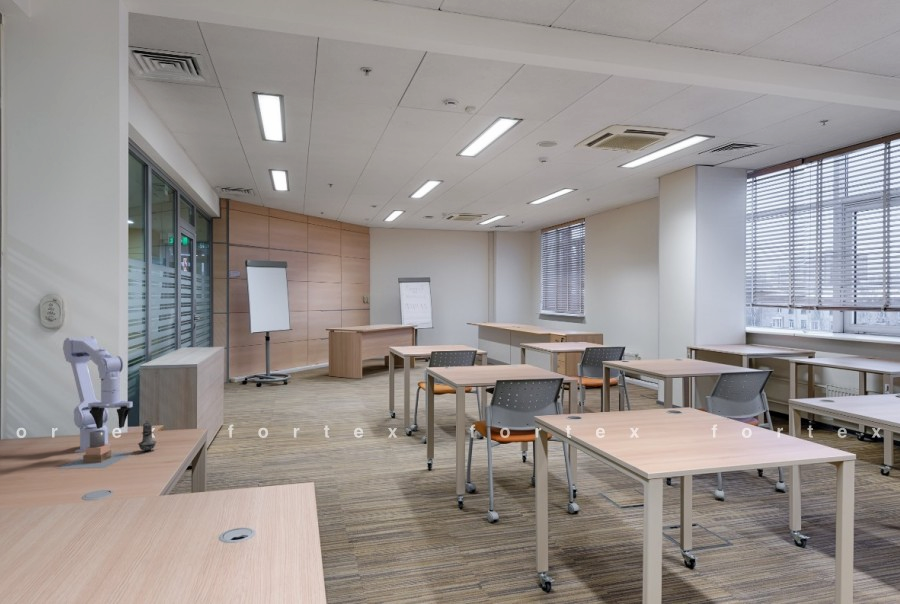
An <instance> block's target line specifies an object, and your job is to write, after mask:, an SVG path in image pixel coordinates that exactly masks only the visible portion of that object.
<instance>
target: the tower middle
mask: <svg viewBox="0 0 900 604" xmlns="http://www.w3.org/2000/svg"><path fill="white" fill-rule="evenodd" d="M109 444H110V443H108V444H105V445H104V446H102V447H96V448H90V446H89V447H87V448H86V452H85V455H101V454H103V453H106V452H108V451H109V450H110V445H109Z"/></svg>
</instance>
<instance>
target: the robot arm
mask: <svg viewBox="0 0 900 604" xmlns="http://www.w3.org/2000/svg"><path fill="white" fill-rule="evenodd" d="M62 350H63V355H64V358H65V361H66V362H68V363H70V364H71V365H70V366H71V369H72V373H73V377H74V381H75V385H76V389H77V392H78V393H77V394H78V398H79V400H80V401H79V404H77V406H75V408H74V409H73V422H74V425H75V426H76V427H77V428H79V449H76V450H75V451H74V453H86V448H87V447H89V446H90V432H92V431H98V430H104V431H105V444H109V446H111V443H109V428H108V426H107V425H106V423H107V422H108V420H109V417H110V416H109V415H110V414H109V413H110V412H109V409H111V408H112V409H113V408H116V413H117V416H118V428H119V429H122V428H124V427H125V424H126V420H127V418H128V415H129V413H130V411H131V410H132V408H133V407H134V406H133V405H134V404H133V401H128V400H127V401H125V400H124V401H123V400H121V398H120V397H121V393H120V392H121V391H120V390H121V389H120V388H121V385H120V383H121V382H120V379H121V377H120V376H121V374H120V373H121V372H122V371H123V368H124V362H123V358H122V357H120V356H119V355H118V356H114V355H112V354H111V353H110V352H109V351H107V350H106V349H105V348H104V347H102V348H100V347H99V346H98V340H97V338H96V337H95V336H85V337H66V338H64V341H63V345H62ZM90 361H92V363H94V364H95V365H96V366H97V371H98V375H99V377H98V378H99V379H100V400H99V399H97V398H96V393H95V391H94V386H93V385H94V384H93V382H92V379H91V374H90V371H89V366H88V362H90Z"/></svg>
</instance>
